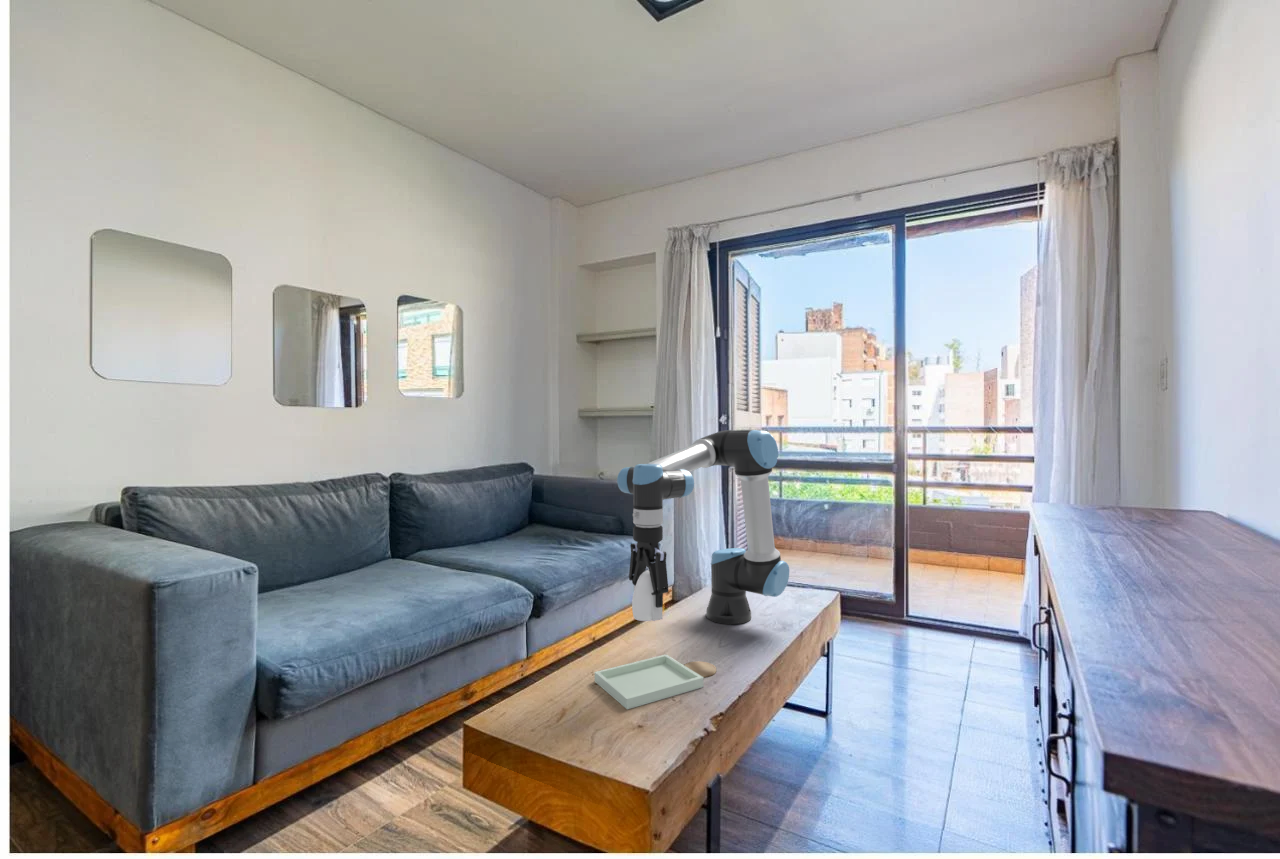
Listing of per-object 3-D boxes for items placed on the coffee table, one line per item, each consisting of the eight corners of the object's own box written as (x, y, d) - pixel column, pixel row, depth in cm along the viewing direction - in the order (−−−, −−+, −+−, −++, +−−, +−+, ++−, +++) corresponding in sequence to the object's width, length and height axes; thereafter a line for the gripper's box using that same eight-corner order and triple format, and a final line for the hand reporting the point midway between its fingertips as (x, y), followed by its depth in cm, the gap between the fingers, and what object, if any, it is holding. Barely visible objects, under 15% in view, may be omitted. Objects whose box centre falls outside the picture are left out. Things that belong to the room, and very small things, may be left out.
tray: (666, 662, 157) (666, 654, 157) (703, 686, 142) (703, 677, 142) (594, 681, 146) (594, 671, 146) (627, 709, 131) (627, 699, 131)
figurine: (659, 622, 140) (659, 574, 140) (629, 620, 142) (629, 572, 142) (664, 613, 147) (664, 567, 147) (635, 611, 149) (635, 566, 149)
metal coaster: (696, 660, 159) (696, 658, 159) (723, 669, 152) (723, 668, 152) (675, 670, 152) (675, 668, 152) (702, 680, 146) (702, 678, 146)
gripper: (615, 520, 151) (615, 605, 151) (657, 532, 133) (657, 629, 133) (639, 518, 155) (639, 601, 155) (683, 529, 137) (683, 624, 137)
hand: (647, 614), depth 144 cm, fingers closed on figurine, 8 cm apart
